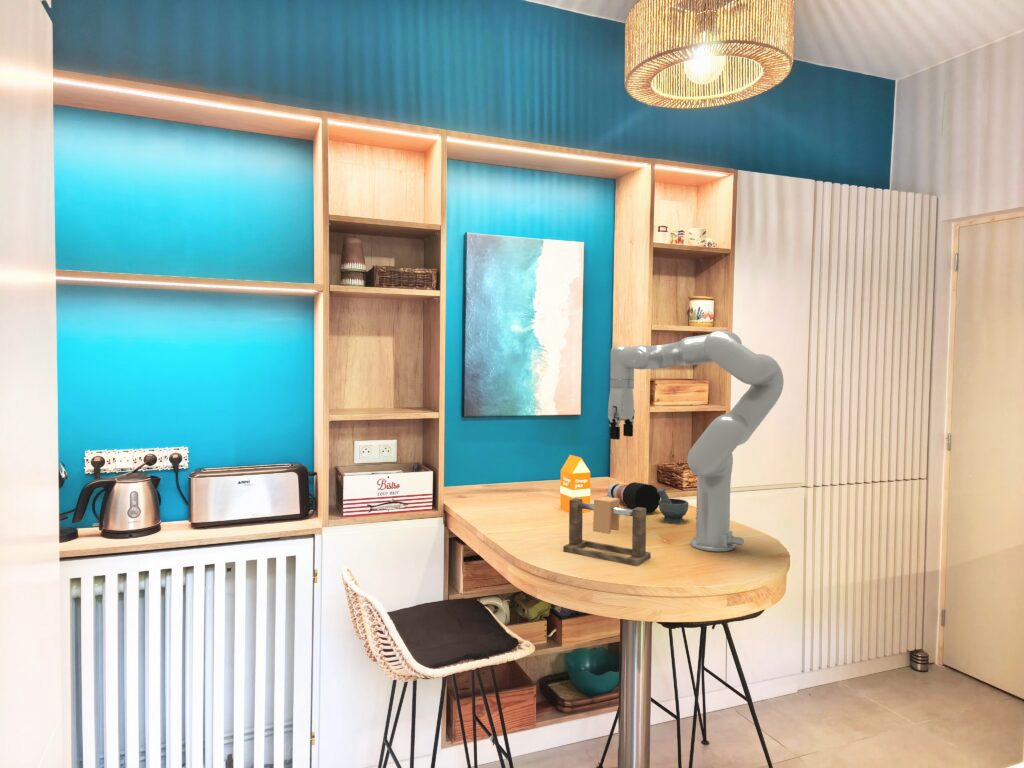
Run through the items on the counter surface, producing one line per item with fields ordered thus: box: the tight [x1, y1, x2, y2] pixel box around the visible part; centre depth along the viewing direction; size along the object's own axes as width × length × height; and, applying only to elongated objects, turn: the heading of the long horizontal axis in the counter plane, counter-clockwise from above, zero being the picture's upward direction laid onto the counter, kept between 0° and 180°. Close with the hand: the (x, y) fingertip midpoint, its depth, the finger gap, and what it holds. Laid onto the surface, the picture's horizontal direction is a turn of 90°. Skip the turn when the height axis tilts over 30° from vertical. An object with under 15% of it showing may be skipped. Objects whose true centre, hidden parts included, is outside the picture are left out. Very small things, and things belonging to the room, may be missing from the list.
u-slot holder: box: [592, 496, 621, 535], centre depth 186 cm, size 5×6×9 cm
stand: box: [562, 498, 652, 567], centre depth 186 cm, size 23×9×14 cm, turn 55°
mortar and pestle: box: [657, 486, 689, 525], centre depth 224 cm, size 11×9×12 cm
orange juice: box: [559, 454, 591, 514], centre depth 240 cm, size 8×9×20 cm
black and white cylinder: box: [606, 481, 661, 514], centre depth 250 cm, size 10×34×10 cm, turn 15°
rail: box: [578, 502, 633, 518], centre depth 186 cm, size 21×2×2 cm, turn 55°
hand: (621, 437), depth 211 cm, fingers open, 9 cm apart
